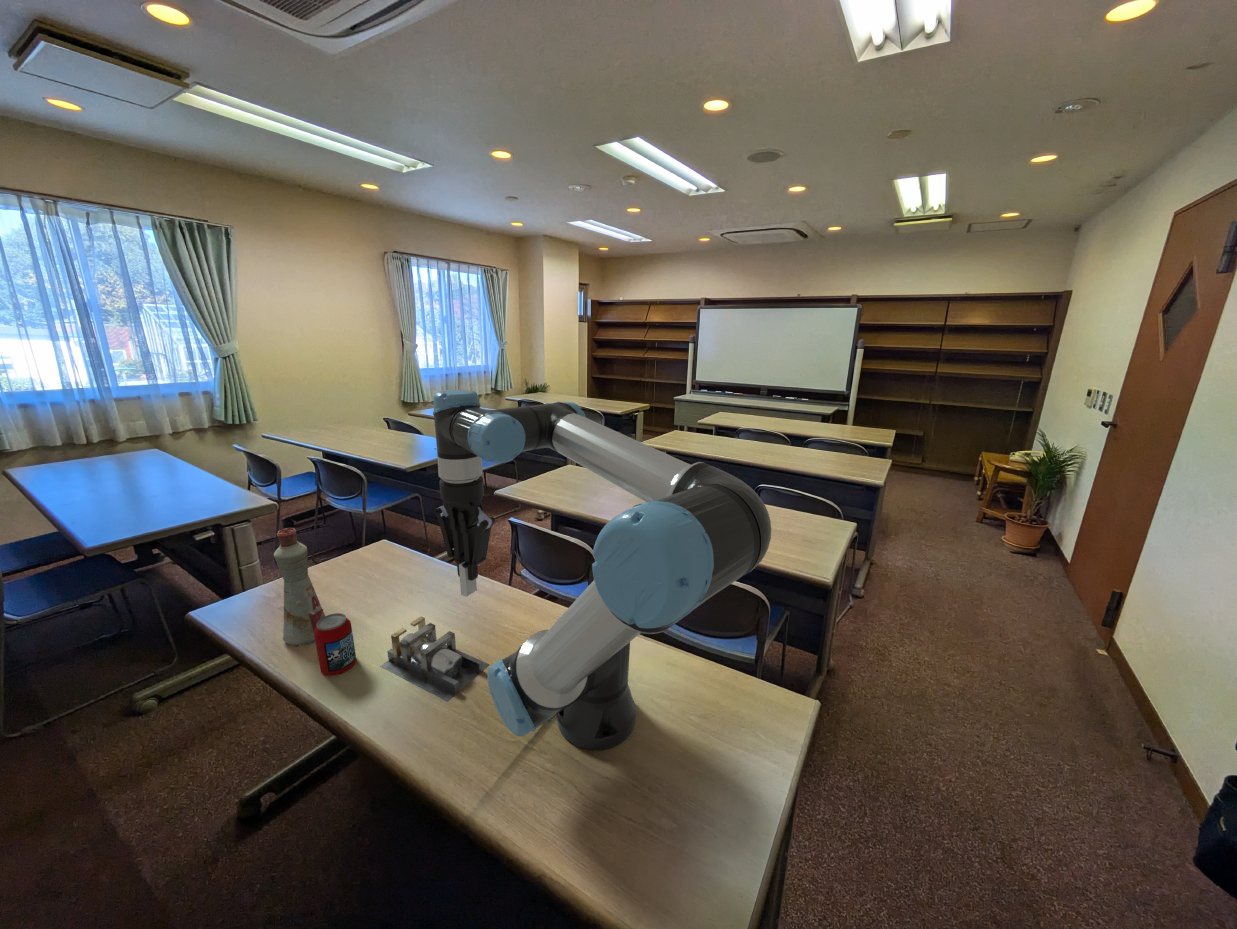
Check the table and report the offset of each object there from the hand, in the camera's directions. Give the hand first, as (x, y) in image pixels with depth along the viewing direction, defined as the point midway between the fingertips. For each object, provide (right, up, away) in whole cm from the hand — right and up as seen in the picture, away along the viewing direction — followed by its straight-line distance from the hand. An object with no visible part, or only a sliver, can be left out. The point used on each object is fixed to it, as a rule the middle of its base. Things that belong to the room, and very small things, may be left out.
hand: (469, 592), depth 90 cm
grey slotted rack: (-11, -20, +11) cm, 25 cm away
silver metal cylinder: (-12, -19, +11) cm, 25 cm away
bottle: (-45, -16, +20) cm, 52 cm away
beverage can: (-31, -20, +10) cm, 38 cm away
